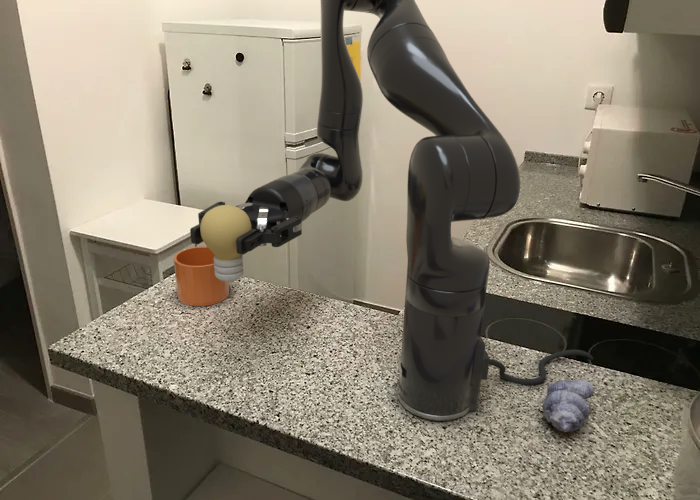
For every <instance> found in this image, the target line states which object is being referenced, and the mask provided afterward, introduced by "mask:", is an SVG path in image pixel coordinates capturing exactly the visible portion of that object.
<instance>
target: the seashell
mask: <svg viewBox="0 0 700 500" xmlns="http://www.w3.org/2000/svg"><path fill="white" fill-rule="evenodd" d="M594 392H595V387H594V386H593V385H592V382H590V381H587V380H586V379H575V380H574V379H573V380H571V379H568V380H567V379H564V380H563V379H561V380H558V381H555V382H553V383H551V384H549V386H548V387H547V391H546V393H547V396H546V397H545V398H544V400H543V402H542V412H543V414H544V416H545V419H546V421H547V422H548V423H551V425H552V426H553V428H554V429H555V430H556V431H558V432H564V433H567V432H571V433H572V432H575V431H577V430H581V428H582V427H583V426H584V423H585V421H586V420H587V418H588V417H589V415H590V405H589V404H588V402H587V401H586V400H587V399H591V398H592V397H593V395H594Z"/></svg>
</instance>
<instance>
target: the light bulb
mask: <svg viewBox="0 0 700 500" xmlns="http://www.w3.org/2000/svg"><path fill="white" fill-rule="evenodd" d="M235 206H236V205H235ZM235 206H234V205H230V204H225V205H221V206H217V207H215V208H213V209H211V210H209V211H208V212H207V213H206V214H205V215H204V217H203V218H202V221H201V226H200V232H201V236H202V239H203V243H204V244H205V246H207V247H208V248H209V249H210V250H211V251H212V252H213V253H214V254H215V256H214V269H215V276H216V278H218V279H219V280H221V281H225V282H229V283H230V282H235V281H238V280H239V279H240V278H242V277H243V276H244V263H243V260H244V258H243V257H244V256H243V255H242V254H238V253H237V247H236V240H237V238H238V237H239V236H241V235H243V234H245V233H247V232H248V231H250V230H251V229H252V227H251V222H250V219H249V217H248V215H247V214H246V213H245V212H244V211H243V210H241V209H240V208H237V207H235Z"/></svg>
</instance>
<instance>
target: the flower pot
mask: <svg viewBox="0 0 700 500" xmlns="http://www.w3.org/2000/svg"><path fill="white" fill-rule="evenodd" d="M214 256H215V254H214V253H213V252H212V251H211V250H210V249H209V248H208V247H207V246H206V245H202V246H199V245H198V246H192V247H189V248H185V249H182V250H180V251H177V253H176V254H174V257H173V265H174V267H173V268H174V275H175V285H176V295H177V299H178V301H179V302H180V303H182V304H184V305H187V306H192V307H205V306H211V305H215V304H219V303H221V302H223V301H225V300H226V299H227V298H228V297H229V295H230V282H225V281H221V280H219V279H218V278H216V276H215V269H214Z"/></svg>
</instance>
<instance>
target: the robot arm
mask: <svg viewBox="0 0 700 500" xmlns="http://www.w3.org/2000/svg"><path fill="white" fill-rule="evenodd" d="M346 11H348V12H358V13H366V14H371V15H374V16H377V17H378V19H379V20H378V22H377V24H376V25H375V27H374V28H373V30H372V32H371V35H370V37H369V39H368V43H367V49H366V56H367V61H368V66H369V68H370V71H371V72H372V73H371V74H372V75H373V77H374V80H375V81H376V85H377V86H378V88H379V91H380V92H381V94H382V95H383V97H384V98H385V99H386V101H387V102H388V103H389V104H390V105H391V106H392V107H394V108H395V109H396V110H397V111H399V112H400V113H401V114H403V115H404V116H406V117H408V118H409V119H411V120H412V121H413V122H415V123H417V124H418V125H420V126H422V127H423V128H424V129H426V130H428V131H429V132H430V133H432V134H433V135H430V136H426V137H422V138H421V139H420V140H418V141H417V142H416V144H415V145H414V147H413V148H412V151H411V153H410V158H409V162H408V170H407V188H406V189H407V191H406V193H407V196H406V198H407V199H406V201H407V206H406V207H407V208H406V232H405V233H406V234H405V236H406V237H405V238H406V239H405V240H406V241H405V242H406V256H407V265H406V267H407V268H406V280H405V282H406V283H405V295H404V296H405V297H404V310H403V322H402V336H401V337H402V338H401V350H400V358H398V359H397V362H398V363H397V367H398V372H399V374H398V375H399V376H398V385H397V392H396V393H397V395H396V396H397V399H398V401H399V403H400V405H401V406H402V407H403V408H404V409H405V410H406V411H407V412H408V413H410V414H412V415H414V416H416V417H419V418H421V419H425V420H429V421H435V422H436V421H437V422H445V421H453V420H456V419H460V418H462V417H464V416H465V415H466V414H468V413H469V412H476V411H477V409H478V405H479V395H480V388H481V381H487V379H488V376H489V367H490V366H493V367H495V368H498V369H499V370H498V375H499V377H501V379H502V380H505V381H507V382H510V383H515V384H519V385H525V386H531V385H538V384H541V383H543V382H544V381H545V380H546V379H547V370H546V367H545V365H546V364H548V363H549V362H551V361H554V360H556V359H558V358H562V357H567V356H581V357H584V358H586V359H587V360H590V361H592V360H594V356H592V354H590V352H587V351H585V350H581V349H565V350H561V351H557V352H554V353H551V354H549V355H547V356H545V357H543V358H541V360H539V363H538V369H539V373H540V375H539V376H538V377H535V378H519V377H516V376H512V375H510V374H508V373H506V366H505V365H504V364H503V363H502V362H501V361H498V360H496V359H492V358H491V357H490V356H489V355H488V353H487V351H486V343H485V341H484V339H483V338H482V336H481V335H482V334H481V333H482V327H483V319H484V312H485V304H486V297H487V289H488V280H489V275H490V266H491V264H490V263H491V262H490V257H489V255H488V253H486V251H485V250H484V249H482V248H481V247H479V246H478V245H476V244H474V243H472V242H470V241H468V240H464V239H460V238H457V237H454V236H452V223H456V222H466V221H468V222H469V221H479V220H488V219H493V218H498V217H501V216H503V215H506V214H508V213H509V212H510V211H511V210H513V208H515V206H516V204H517V202H518V200H519V197H520V192H521V176H520V175H521V174H520V171H519V165H518V163H517V159H516V157H515V154H514V153H513V150H512V148H511V146H510V144H509V143H508V142H507V140H506V138H505V137H504V136H503V135H502V133H501V131H500V130H499V129H498V128H497V127H496V125H495V124H494V123H493V122H492V120H491V119H490V118H489V117H488V115H486V113H485V112H484V111H483V109H482V108H481V106H479V104H478V103H477V102H476V100H475V99H474V98H473V96H472V95H471V93H470V92H469V91H468V89H467V87H466V86H465V84H464V83H463V81H462V79H461V78H460V76H459V75H458V73H457V72H456V70H455V68H454V67H453V66H452V64H451V62H450V60H449V58H448V56H447V54H446V52H445V50H444V49H443V47H442V44H441V43H440V42H439V40H438V38H437V36H436V35H435V33H434V32H433V30H432V29H431V27H430V25H429V24H428V23H427V21H426V19H425V17H424V16H423V14H422V11H421V10H420V8H419V6H418V4H417V3H416V0H320V57H321V59H320V60H321V81H320V83H321V85H320V94H319V97H320V98H319V104H318V105H319V106H318V114H317V123H316V135H317V136H316V137H317V139H318V140H319V141H320V142H322V143H323V144H325V145H327V147H330V148H331V149H332V150H333V151H335V154H336V156H335V155H331V154H328V153H324V152H315V153H311V154H309V155H308V156H307V157H306V158H305V160H304V162H303V163H302V164H301V165H300V167H299V168H298V169H297V170H296V171H294V172H292V173H290V174H287V175H282V176H280V177H278V178H276V179H274V180H272V181H270V182H268V183H265V184H263V185H261V186H260V187H257V188H255V189H254V190H253V191H251V193H250V194H249V195H248V197H247V199H246V201H245V202H243V203H241V204H238V205H235V207H237V208H240V209H241V210H243V211H244V212H245V213H246V214H247V215H248V217H249V219H250V222H251V227H252V229H251V230H250V231H248V232H247V233H245V234H243V235H241V236H239V237H238V238H237V240H236V247H237V253H238V254H242V256H244V255H246V254H247V253H248V252H252V251H253V250H255V249H257V248H259V247H266V246H267V245H268V244H271V247H272V248H280V247H281V246H284V245H285V244H287V243H289V242H291V241H293V240H294V239H296V238H298V237H300V236H301V235H302V233H303V231H302V230H303V228H302V227H303V222H304V221H306V220H307V219H308V218H309V217H311V215H312V214H314V213H315V212H317V211H318V210H320V209H322V208H323V207H324V206H325V205H326V204H327V203H328V202H329V200H330V199H333V200H334V199H335V200H337V201H342V202H349V201H352V200H354V199H355V198H356V197H357V195H359V193H360V191H361V189H362V185H363V166H362V160H361V152H360V151H361V150H360V138H359V136H360V135H359V133H360V126H361V119H362V112H363V105H364V104H363V103H364V94H363V88H362V82H361V79H360V76H359V74H358V70H357V69H356V66H355V65H354V62H353V59H352V57H351V55H350V52H349V48H348V46H347V43H346V38H345V32H344V31H345V29H344V15H345V12H346ZM221 205H226V202H225V201H218V202H216V203H214V204H212V205H210V206H209V207H207V208H205V209H203V210H202V211H200V212H198V213H197V217H198V224H196V225H194V226H192V227H191V228H190V229H189V232H190V243H191V244H193V245H199V244H201V243H204V241H203V239H202V236H201V232H200V226H201V221H202V218H203V217H204V215H205V214H206V213H207V212H208V211H209V210H211V209H213V208H215V207H217V206H221Z"/></svg>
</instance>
